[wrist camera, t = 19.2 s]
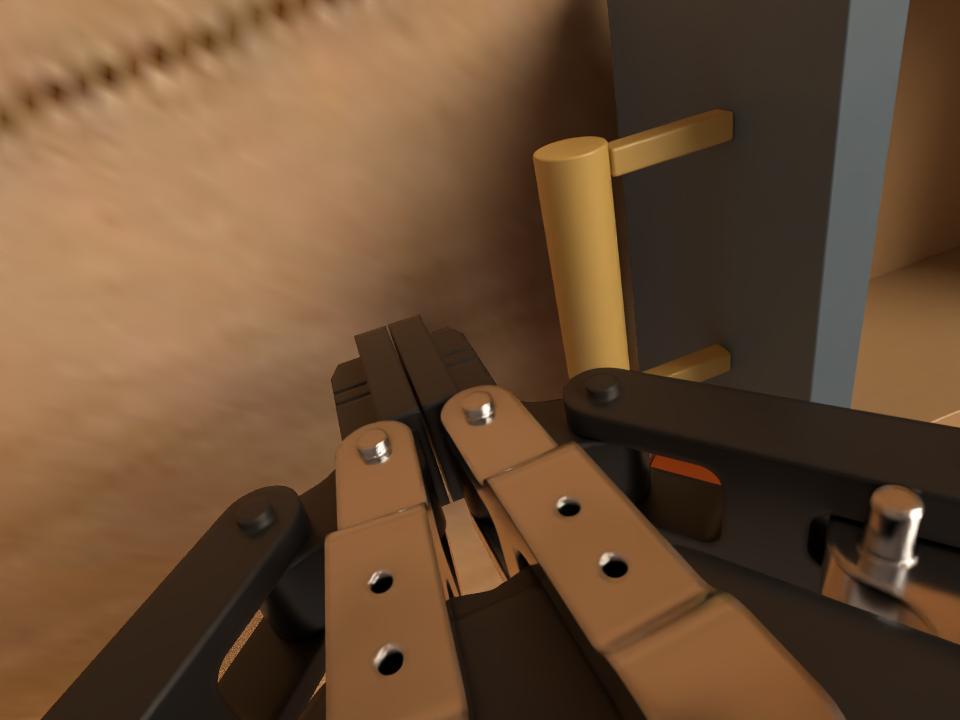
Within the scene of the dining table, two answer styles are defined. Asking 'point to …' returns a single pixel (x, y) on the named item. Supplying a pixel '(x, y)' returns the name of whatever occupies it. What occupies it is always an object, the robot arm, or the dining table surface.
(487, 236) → the dining table surface
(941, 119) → the drawer
